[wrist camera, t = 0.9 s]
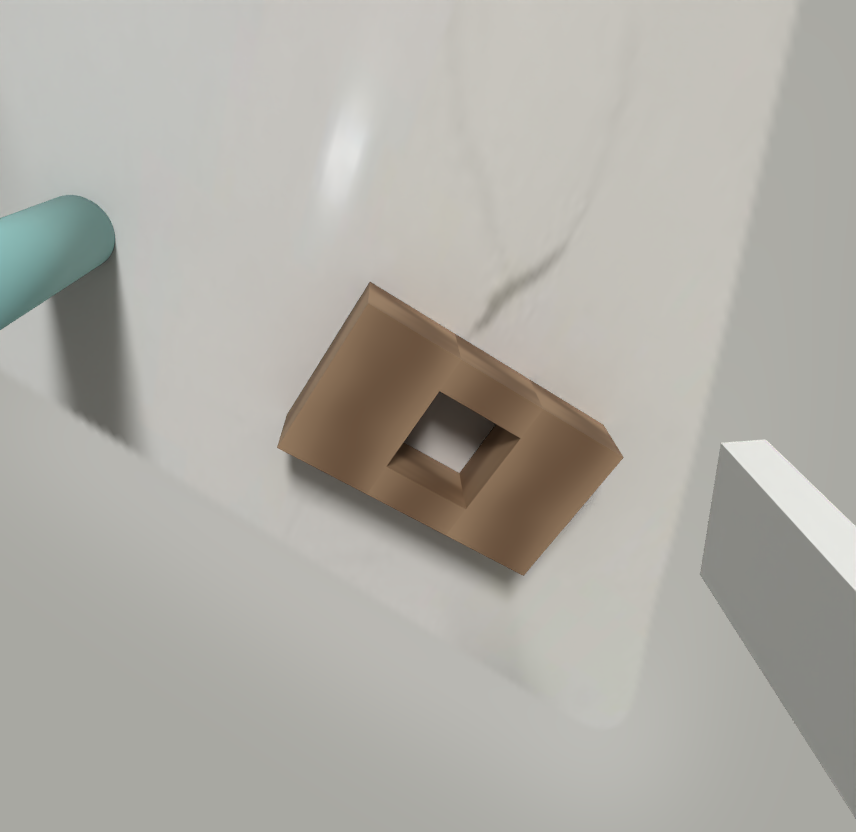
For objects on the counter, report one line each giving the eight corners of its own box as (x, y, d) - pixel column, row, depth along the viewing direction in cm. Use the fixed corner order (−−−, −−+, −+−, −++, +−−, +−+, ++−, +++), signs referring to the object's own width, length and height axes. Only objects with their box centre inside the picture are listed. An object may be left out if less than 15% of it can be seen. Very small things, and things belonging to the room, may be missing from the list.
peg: (28, 243, 32) (-158, 329, 21) (55, 180, 31) (-126, 236, 20) (97, 281, 33) (-46, 383, 22) (126, 221, 32) (-10, 296, 21)
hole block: (286, 414, 36) (277, 447, 33) (369, 281, 33) (368, 303, 30) (512, 536, 40) (523, 575, 37) (603, 424, 37) (623, 457, 34)
